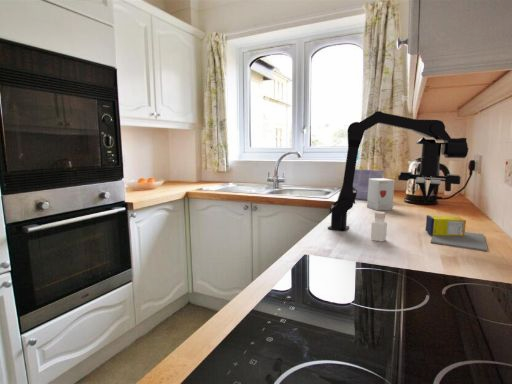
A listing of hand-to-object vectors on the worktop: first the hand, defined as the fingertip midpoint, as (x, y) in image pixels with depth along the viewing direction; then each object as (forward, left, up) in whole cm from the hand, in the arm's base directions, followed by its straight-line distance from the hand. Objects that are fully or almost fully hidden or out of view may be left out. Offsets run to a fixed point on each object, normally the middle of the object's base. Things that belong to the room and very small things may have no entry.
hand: (426, 202), depth 110 cm
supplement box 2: (+40, +23, -12) cm, 48 cm away
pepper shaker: (-16, +12, -12) cm, 23 cm away
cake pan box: (+64, +36, -12) cm, 75 cm away
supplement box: (+1, -1, -8) cm, 8 cm away
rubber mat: (0, -10, -12) cm, 16 cm away
